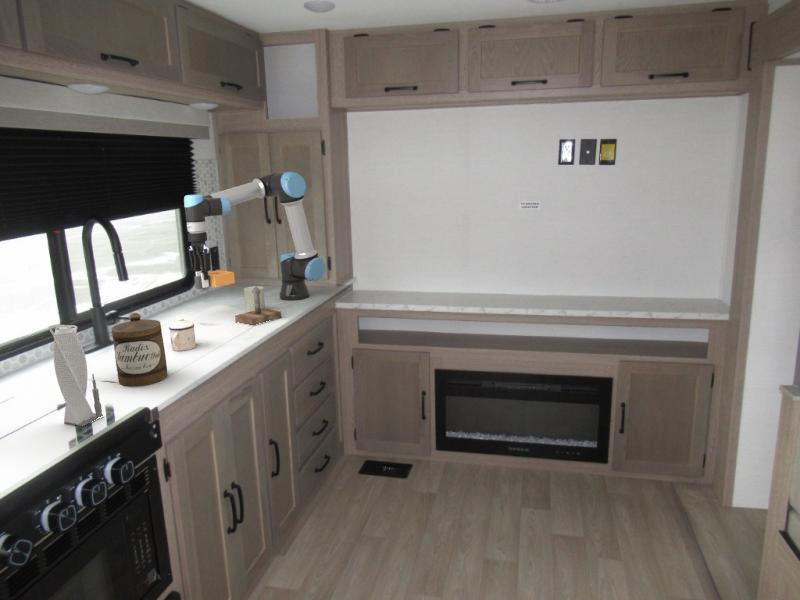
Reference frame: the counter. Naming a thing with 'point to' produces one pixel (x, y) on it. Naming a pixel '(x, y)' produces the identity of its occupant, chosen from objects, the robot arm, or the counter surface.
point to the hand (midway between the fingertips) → (203, 286)
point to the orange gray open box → (216, 279)
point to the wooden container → (139, 351)
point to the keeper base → (257, 317)
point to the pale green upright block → (250, 298)
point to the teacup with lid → (182, 335)
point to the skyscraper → (73, 376)
